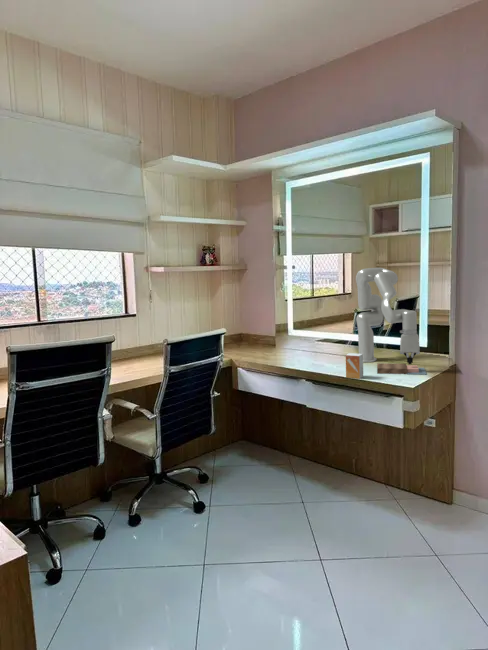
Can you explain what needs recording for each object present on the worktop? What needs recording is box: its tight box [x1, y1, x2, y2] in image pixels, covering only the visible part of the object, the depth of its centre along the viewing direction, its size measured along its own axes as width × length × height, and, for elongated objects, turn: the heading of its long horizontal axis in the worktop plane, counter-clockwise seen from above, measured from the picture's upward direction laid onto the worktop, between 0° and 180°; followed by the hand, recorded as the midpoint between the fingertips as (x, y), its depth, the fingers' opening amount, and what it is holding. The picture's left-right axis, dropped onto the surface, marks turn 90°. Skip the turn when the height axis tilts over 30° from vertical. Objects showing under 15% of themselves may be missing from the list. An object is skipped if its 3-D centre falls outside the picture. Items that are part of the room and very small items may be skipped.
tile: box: [406, 364, 419, 373], centre depth 249 cm, size 6×9×2 cm, turn 164°
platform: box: [376, 362, 408, 375], centre depth 252 cm, size 16×13×3 cm
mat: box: [406, 367, 427, 376], centre depth 248 cm, size 10×15×1 cm, turn 163°
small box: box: [345, 352, 364, 380], centre depth 243 cm, size 8×6×13 cm
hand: (409, 363), depth 249 cm, fingers closed
